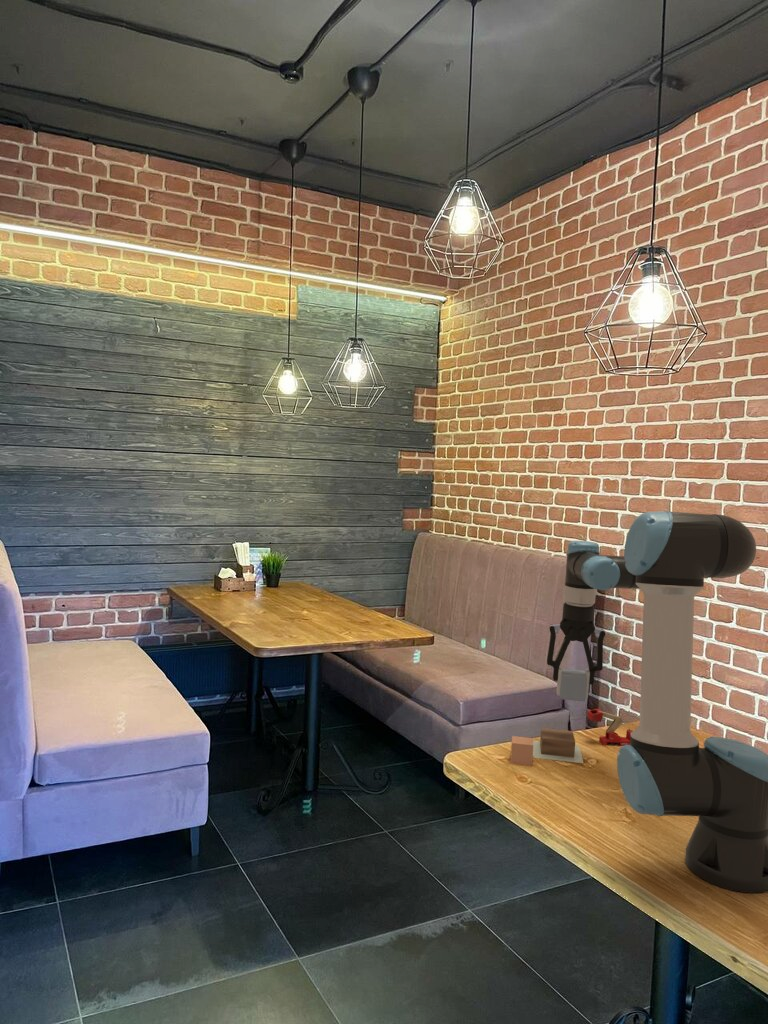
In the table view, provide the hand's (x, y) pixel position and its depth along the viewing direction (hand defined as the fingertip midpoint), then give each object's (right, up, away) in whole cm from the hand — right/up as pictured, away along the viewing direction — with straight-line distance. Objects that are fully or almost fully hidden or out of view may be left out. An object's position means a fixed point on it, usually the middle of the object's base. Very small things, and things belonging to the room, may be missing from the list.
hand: (571, 694), depth 189 cm
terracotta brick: (-14, -16, -5) cm, 21 cm away
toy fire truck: (+13, -17, +11) cm, 24 cm away
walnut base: (-3, -15, +3) cm, 15 cm away
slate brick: (0, 0, 0) cm, 0 cm away
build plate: (-3, -16, +2) cm, 16 cm away
